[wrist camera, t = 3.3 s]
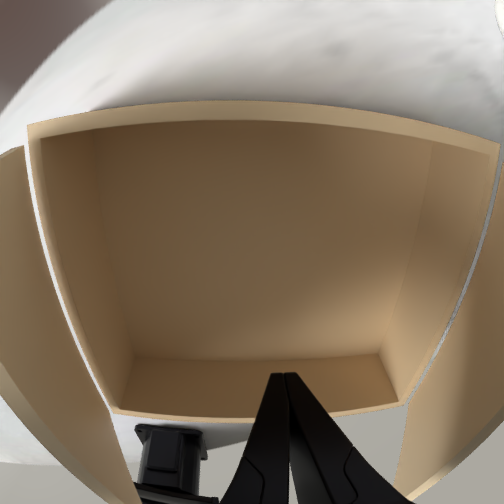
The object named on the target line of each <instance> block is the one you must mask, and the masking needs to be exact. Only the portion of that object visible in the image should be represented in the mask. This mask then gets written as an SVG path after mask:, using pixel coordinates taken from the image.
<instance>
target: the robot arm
mask: <svg viewBox="0 0 504 504" xmlns="http://www.w3.org/2000/svg"><path fill="white" fill-rule="evenodd" d="M134 430H135V432H136V434H137V436H138V437H139V439H140V441H141V443H142V444H143V451H142V457H141V462H140V468H139V474H138V480H137V483H136V482H133V483H134V486H135V488H136V490H137V493H138V495H139V497H140V500H141V502H142V504H289V503H288V502H289V461H290V466H291V471H292V476H293V481H294V485H295V490H296V494H297V500H298V504H415V503H413V502H411V501H410V500H408V499H407V498H405V497H404V496H403V495H402V494H401V493H400V492H399V491H397V490H396V489H395V488H394V487H393V486H392V485H391V484H390V483H388V482H387V481H386V480H385V479H384V478H383V477H382V476H381V475H380V474H379V473H378V472H377V471H376V470H375V469H374V468H373V467H372V466H371V465H370V464H369V463H368V462H367V461H366V460H365V459H364V458H363V456H362V455H361V454H360V453H359V452H358V450H357V449H356V448H355V447H354V446H353V444H352V443H351V442H350V441H349V439H348V438H347V437H346V435H345V434H344V433H343V432H342V430H341V429H340V428H339V427H338V425H337V424H336V423H335V421H333V419H332V418H331V416H330V415H329V414H328V412H327V411H326V410H325V409H324V407H323V406H322V405H321V403H320V402H319V401H318V400H317V398H316V397H315V396H314V394H313V393H312V392H311V390H310V389H309V388H308V386H307V385H306V384H305V382H304V381H303V380H302V379H301V377H300V376H299V375H298V373H297V372H285V373H284V374H283V373H282V372H275V373H271V374H270V376H269V379H268V382H267V385H266V389H265V392H264V395H263V398H262V401H261V404H260V407H259V410H258V412H257V415H256V418H255V421H254V424H253V427H252V430H251V433H250V436H249V438H248V441H247V444H246V447H245V450H244V452H243V457H241V460H240V463H239V466H238V468H237V471H236V473H235V475H234V478H233V480H232V482H231V484H230V485H229V487H228V489H227V491H226V493H225V495H224V496H223V498H222V500H221V501H220V503H219V500H218V497H205V496H199V476H200V460H207V459H208V456H207V451H206V447H205V442H204V438H203V433H202V432H201V431H197V430H181V429H169V428H159V427H150V426H141V425H136V426H135V429H134Z"/></svg>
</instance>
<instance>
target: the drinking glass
mask: <svg viewBox="0 0 504 504" xmlns="http://www.w3.org/2000/svg"><path fill="white" fill-rule="evenodd" d="M494 6H495V15H496V19H497V23H498V26H499V29H500V31H501V33H502V35H503V37H504V0H495V5H494Z"/></svg>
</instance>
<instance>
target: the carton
mask: <svg viewBox="0 0 504 504" xmlns="http://www.w3.org/2000/svg"><path fill="white" fill-rule="evenodd" d="M27 132H28V144H29V153H30V161H31V169H32V176H33V182H34V188H35V194H36V200H37V205H38V210H39V215H40V220H41V224H42V228H43V233H44V237H45V241H46V245H47V249H48V252H49V256H50V260H51V263H52V267H53V270H54V273H55V277H56V280H57V283H58V286H59V289H60V292H61V295H62V298H63V301H64V304H65V307H66V310H67V312H68V315H69V318H70V320H71V323H72V326H73V328H74V331H75V333H76V336H77V338H78V341H79V343H80V345H81V348H82V350H83V352H84V355H85V357H86V359H87V361H88V364H89V366H90V368H91V370H92V372H93V374H94V376H95V379H96V381H97V383H98V385H99V387H100V389H101V391H102V393H103V395H104V396H105V398H106V400H107V402H108V404H109V406H110V408H111V410H112V411H113V413H115V414H121V415H128V416H135V417H143V418H152V419H162V420H173V421H187V422H206V423H254V421H255V418H256V415H257V412H258V410H259V407H260V404H261V401H262V398H263V395H264V392H265V389H266V385H267V382H268V379H269V376H270V374H271V373H275V372H282V373H283V374H284V373H285V372H297V373H298V375H299V376H300V377H301V379H302V380H303V381H304V382H305V384H306V385H307V386H308V388H309V389H310V390H311V392H312V393H313V394H314V396H315V397H316V398H317V400H318V401H319V402H320V403H321V405H322V406H323V407H324V409H325V410H326V411H327V412H328V414H329V415H330V416H331V418H332V417H340V416H347V415H354V414H361V413H367V412H373V411H378V410H384V409H389V408H394V407H399V406H403V405H404V404H405V402H406V401H407V399H408V397H409V396H410V394H411V392H412V390H413V389H414V387H415V385H416V384H417V382H418V380H419V379H420V377H421V375H422V374H423V372H424V370H425V368H426V366H427V365H428V363H429V361H430V359H431V357H432V355H433V353H434V351H435V349H436V347H437V345H438V343H439V341H440V339H441V337H442V335H443V333H444V331H445V329H446V327H447V324H448V322H449V320H450V318H451V316H452V313H453V311H454V309H455V306H456V304H457V302H458V299H459V297H460V294H461V292H462V289H463V287H464V284H465V281H466V279H467V276H468V273H469V270H470V268H471V265H472V262H473V259H474V256H475V253H476V250H477V247H478V243H479V240H480V237H481V233H482V230H483V226H484V223H485V219H486V215H487V211H488V207H489V203H490V199H491V194H492V190H493V185H494V180H495V175H496V170H497V164H498V158H499V152H500V145H501V144H499V143H496V142H493V141H490V140H487V139H484V138H481V137H478V136H475V135H472V134H468V133H465V132H461V131H458V130H454V129H451V128H447V127H443V126H439V125H435V124H431V123H427V122H422V121H418V120H413V119H409V118H404V117H399V116H394V115H388V114H383V113H377V112H371V111H365V110H358V109H351V108H343V107H335V106H326V105H317V104H306V103H293V102H276V101H249V100H212V101H184V102H168V103H155V104H144V105H135V106H126V107H118V108H111V109H104V110H97V111H91V112H85V113H80V114H74V115H69V116H64V117H59V118H54V119H50V120H45V121H41V122H37V123H33V124H29V125H27Z"/></svg>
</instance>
